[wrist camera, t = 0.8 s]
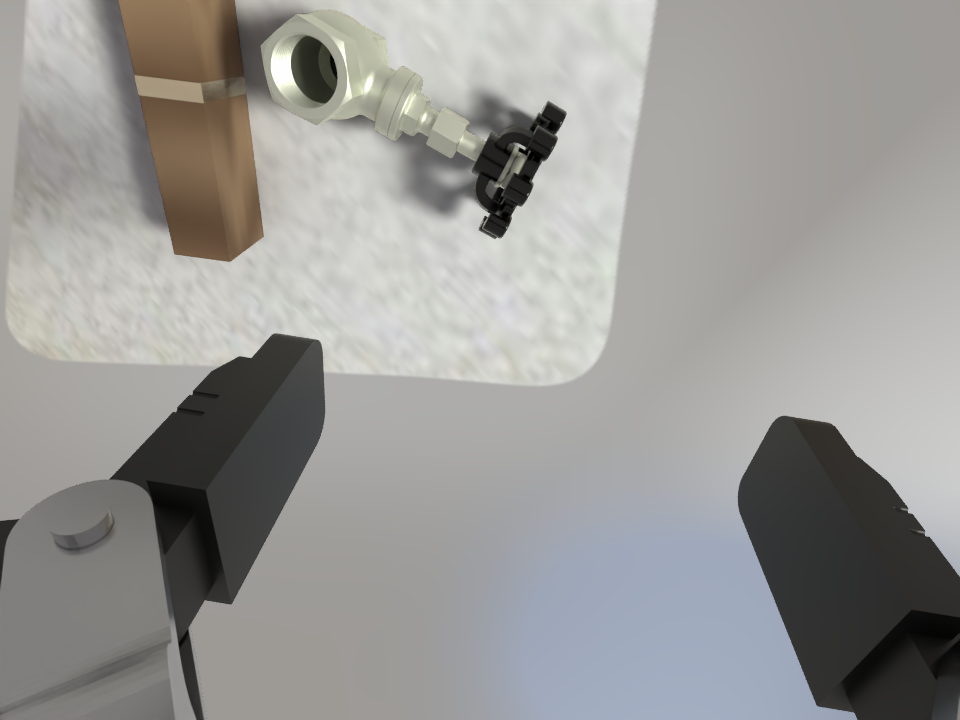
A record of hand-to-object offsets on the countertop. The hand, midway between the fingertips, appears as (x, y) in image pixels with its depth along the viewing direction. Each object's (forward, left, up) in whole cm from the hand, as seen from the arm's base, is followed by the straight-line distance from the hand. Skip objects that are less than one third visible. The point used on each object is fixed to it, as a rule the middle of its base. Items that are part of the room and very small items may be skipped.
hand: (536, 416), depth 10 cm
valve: (-2, -6, -22) cm, 23 cm away
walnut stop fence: (-2, -17, -21) cm, 27 cm away
